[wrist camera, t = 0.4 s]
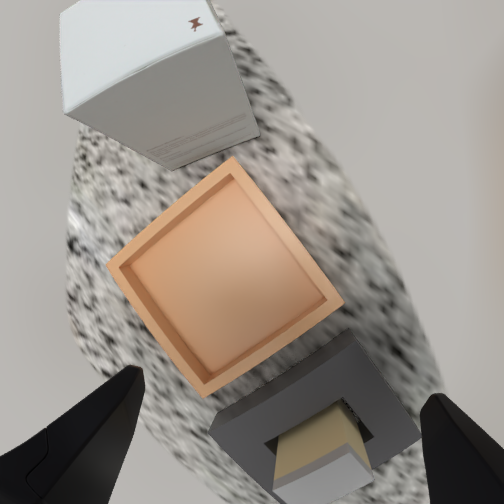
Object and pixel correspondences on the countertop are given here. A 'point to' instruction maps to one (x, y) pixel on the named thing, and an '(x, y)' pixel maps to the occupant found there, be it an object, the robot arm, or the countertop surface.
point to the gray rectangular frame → (315, 409)
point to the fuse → (321, 458)
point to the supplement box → (154, 77)
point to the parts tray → (222, 280)
